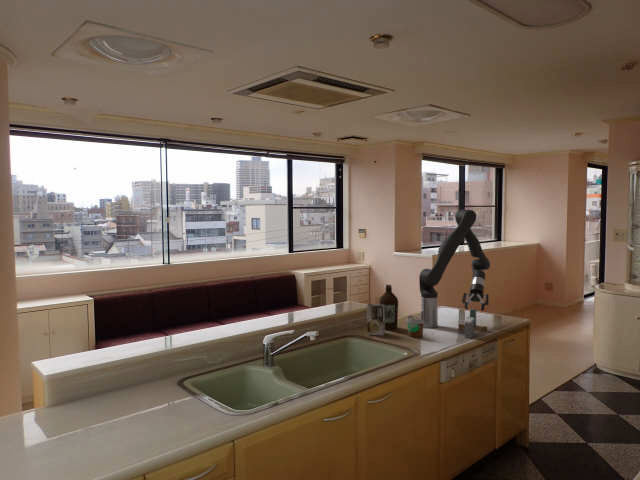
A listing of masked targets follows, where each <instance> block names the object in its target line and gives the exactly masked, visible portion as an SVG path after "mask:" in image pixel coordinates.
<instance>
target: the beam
mask: <svg viewBox="0 0 640 480" xmlns="http://www.w3.org/2000/svg"><path fill="white" fill-rule="evenodd" d="M469 317H474V331H479V332H488V326H485V325H477V309H473V308H470V309H469ZM458 329H459V330H465V323H464V324H462V323H459V324H458Z"/></svg>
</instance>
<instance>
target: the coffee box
mask: <svg viewBox="0 0 640 480" xmlns="http://www.w3.org/2000/svg"><path fill="white" fill-rule="evenodd" d="M366 318H367V319H366V322H367V323H366V325H367V326H366V327H367V329H366V331H367V335H368V336H384V335H385V334H386V330H385V310H384V304H380V303H368V304H367V305H366Z"/></svg>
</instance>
